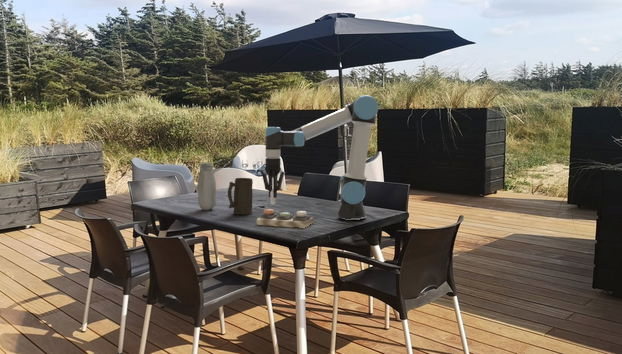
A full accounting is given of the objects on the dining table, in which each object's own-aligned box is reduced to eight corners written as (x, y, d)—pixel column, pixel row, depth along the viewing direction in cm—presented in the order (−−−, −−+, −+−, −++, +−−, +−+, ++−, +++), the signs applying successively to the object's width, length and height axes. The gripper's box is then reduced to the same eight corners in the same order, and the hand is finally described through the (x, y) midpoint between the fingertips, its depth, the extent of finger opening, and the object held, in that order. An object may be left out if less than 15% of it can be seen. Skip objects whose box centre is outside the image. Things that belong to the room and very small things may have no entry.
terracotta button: (275, 213, 264) (275, 209, 264) (271, 214, 260) (271, 211, 259) (266, 212, 266) (266, 208, 266) (262, 214, 261) (262, 210, 261)
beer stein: (244, 211, 297) (243, 176, 295) (257, 213, 290) (256, 178, 288) (223, 215, 285) (222, 179, 283) (237, 217, 278) (236, 180, 276)
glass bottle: (212, 211, 296) (210, 163, 293) (195, 211, 298) (194, 163, 295) (218, 208, 306) (217, 161, 302) (202, 208, 308) (201, 161, 304)
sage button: (291, 216, 262) (291, 212, 261) (287, 218, 257) (287, 214, 257) (282, 215, 263) (282, 212, 263) (278, 217, 259) (278, 213, 258)
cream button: (308, 215, 258) (307, 211, 258) (304, 217, 254) (304, 213, 253) (298, 214, 260) (298, 210, 260) (295, 216, 255) (295, 212, 255)
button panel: (313, 223, 262) (313, 214, 261) (304, 228, 250) (304, 219, 250) (266, 220, 270) (266, 211, 270) (256, 224, 259) (256, 216, 259)
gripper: (287, 157, 260) (287, 203, 263) (264, 156, 264) (264, 201, 267) (282, 158, 253) (281, 206, 256) (258, 157, 257) (258, 204, 260)
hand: (272, 203), depth 261 cm, fingers closed
